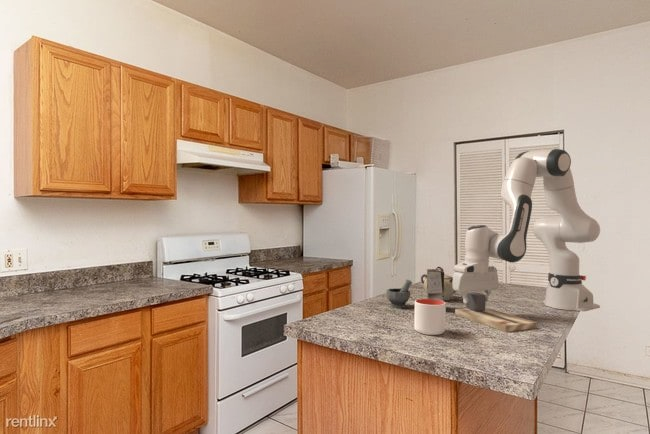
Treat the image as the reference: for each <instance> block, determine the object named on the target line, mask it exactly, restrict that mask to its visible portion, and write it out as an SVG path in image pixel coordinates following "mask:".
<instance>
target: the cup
mask: <svg viewBox="0 0 650 434" xmlns="http://www.w3.org/2000/svg"><path fill="white" fill-rule="evenodd" d="M446 307H447V305H446V302H445V300H444V301H441V300H436V299H427V298H420V299H415V301H414V329H415V331H416V332H418V333H420V334H422V335H426V336H438V335H439V336H440V335H442V334H444V333H445V331H446V314H447V313H446V310H447V309H446Z"/></svg>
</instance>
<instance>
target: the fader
mask: <svg viewBox="0 0 650 434" xmlns="http://www.w3.org/2000/svg"><path fill="white" fill-rule="evenodd" d="M466 295H467V298H469V303H465V308H469V309H472V310H476V311H482V310H485V307H486V302H485V299H486V295H485V293H484V294H483V293H480V292H478V291H468V292H467V294H466Z"/></svg>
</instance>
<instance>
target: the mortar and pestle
mask: <svg viewBox="0 0 650 434" xmlns="http://www.w3.org/2000/svg"><path fill="white" fill-rule="evenodd" d="M412 284H413V282H412V280H410V279H406V280H405V282H404V283H403V286H402V287H401V288H388V289H387V290H386V297H387V299H388V301H389V302H390V307H391V308H394V309H405V308H406V306H407V305H406V304H407V302H408V301H409V299H410V297H411V290H410V287H411V285H412Z"/></svg>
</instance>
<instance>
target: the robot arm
mask: <svg viewBox="0 0 650 434" xmlns="http://www.w3.org/2000/svg"><path fill="white" fill-rule="evenodd" d="M571 164H572V160H571V155H570V154H569V153H568V152H567V150H565V149H560V148H555V149H551V148H550V149H547V148H546V149H544V148H543V149H537V150H531V151H527V150H526V151H523V152H521V153H519V154H518V155H516V157H515V158H514V160H513V161H512V163H511V164H510V165H509V168H508V170H507V172H506V174H505V176H504V180H503V182H502V185H501V189H500V197H501V199H502V201H503V202H504V203H505V204H506V205H508V207H509V206H510V207H511V210H512V216H511V219H510V220H511V221H510V225H509V229H508V231H507V233H506V234H502V233H498V232H496V231H494V230H492V229H490V228H489V227H488V226H487V225H485V224H479V225H478V224H477V225H472V226H470V227H468V228H467V229H466V232H465V239H464V250H465V255H464V261H461V262H460V263H456V264H455V265H454V266H453V271H454V272H453V275H452V278H453V289H454V291H456V292H458V293H460V295H461V297H462V299H463V300H462V302H463V304H466V303H469V298H467V295H466V294H467V292H480V291H481V292H482V291H483V292H484V294H485V295H486V299H485V303H486V302H489V297H490V295H491V293H492V291H494V290H495V291H496V290H498V288H499V286H500V285H499V284H500V283H499V277H498V276H499V275H498V268H496V267H495V266H494V265H491V266H490V264H489V263H490V262H489V261H490V258H494V259H498V260H503V261H504V262H508V263H517V262H519V261H520V260H522V259H523V258H524V257H525V255H526V253H527V236H528V235H527V234H528V231H529V225H530V221H531V216H532V210H533V200H532V194H533V190H534V186H535V182H536V179H537V178H542V183H543V190H544V197H545V204H546V206H547V207H548V208H549V209H550V210H552V211H555V212H556V213H558V214H559V215H560V216H545V217H544V216H543V217H540V218H537V219H536V220H534V223H533V225H532V233H533V234H534V236H535V237H536V239H538V240H539V241H540V242H541V243H542V244H543V246H544V248H545V249H546V251H547V255H548V261H549V262H548V264H549V270H548V271H549V272H548V274H547V281H548V283H547V284H546V292H545V298H544V299H543V303H544V305H545V306H547V307H549V308H553V309H559V310H566V311H576V312H588V311H592V310H596V309H597V310H598V309H600V308H601V306H600V304H597V303H594V295H593V293H592V292H591V291H590V290H589V289H588V288H587V287H586V286H585V285H583V281H586V279H587V276H586V275H580V257H579V255H577V253H575V252H574V251H572V250H570V249H569V248H568V246H567V245H566V243H576V244H579V243H580V244H582V243H583V244H584V243H591V242H596V240H597V239H598V238H599V236H600V235H601V227H600V223H599V222H598V221H597V220H596V219H595V218H593V217H591V216H589V215H588V214H587V213H586V212H585V211H584V210H583V209H582V208H581V206H580V205H579V202H578V199H577V195H576V190H575V189H576V188H575V182H574V178H573V174H572V170H571Z"/></svg>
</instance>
